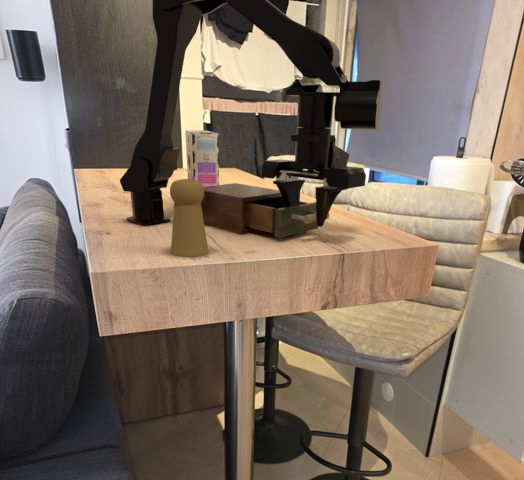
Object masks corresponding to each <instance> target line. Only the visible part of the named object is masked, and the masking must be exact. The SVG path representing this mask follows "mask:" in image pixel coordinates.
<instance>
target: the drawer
mask: <svg viewBox="0 0 524 480" xmlns="http://www.w3.org/2000/svg"><path fill="white" fill-rule="evenodd" d="M329 218H330V212H329V213H328V215H327V218H326V220H328V219H329ZM245 227H249V228H253V229H257V230H260V231H263V232H266V233H269V234H274V238H279V239H281V238H285V237H289V236H293V235H298V234H301V233H306V232H310V231H314V230H317V229H319V227H318V226H317V218H316V201H313V202H307V201H302V200H300V204H299V205H296V206H290V207H287V206H286V204H285V202H284V199H283V198H279V197H275V198H268V199H262V200H255V201H249V202H245Z"/></svg>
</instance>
